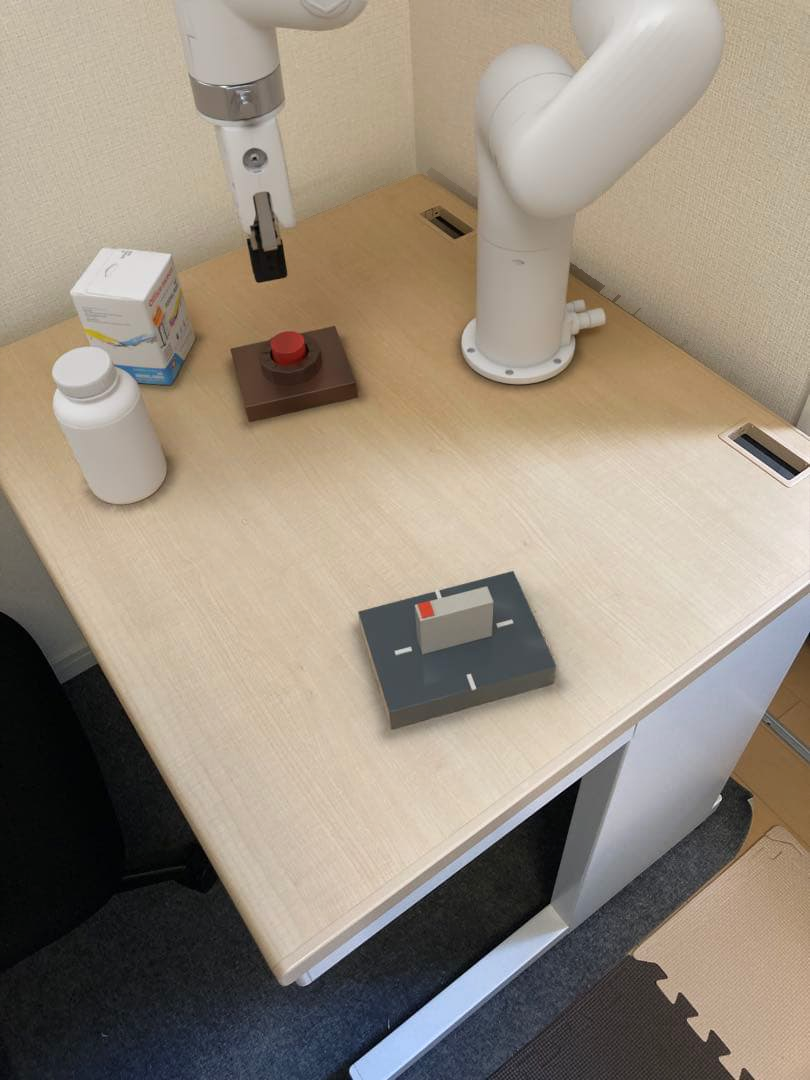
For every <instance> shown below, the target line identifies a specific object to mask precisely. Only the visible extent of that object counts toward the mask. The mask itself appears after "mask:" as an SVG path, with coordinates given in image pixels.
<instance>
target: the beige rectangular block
mask: <svg viewBox="0 0 810 1080" xmlns="http://www.w3.org/2000/svg"><path fill="white" fill-rule="evenodd" d="M415 616H416V630H417V640H418V643H419V646H420V649H421V652H422V654H426V653H430V652H433V651H437V650H441V649H445V648H448V647H452V646H456V645H460V644H463V643H467V642H471V641H475V640H478V639H482V638H486V637H490V636H492V622H493V599H492V597H491V594H490V592H489V590H488V587H487V586H486V587H482V588H479V589H475V590H471V591H467V592H463V593H459V594H455V595H451V596H448V597H444V598H440V599H436V600H432V601H427V602H424V603H420V604H417V605H415Z"/></svg>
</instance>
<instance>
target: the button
mask: <svg viewBox="0 0 810 1080" xmlns="http://www.w3.org/2000/svg"><path fill="white" fill-rule="evenodd" d="M299 333H300V332H297V331H293V330H292V331H291V330H289V331H282V332H280V333H277V334H276V335H274V336H275V337H274V336H272V337H273V339H272V340H271V349H272V354H273V358H274V360H275V361H276V362H277V363H278V364H282V365H291V364H296V363H299V362H300V361H302V360H303V359H305V357H306V347H305V341H304V337H303V336H302V335H301V334H299Z"/></svg>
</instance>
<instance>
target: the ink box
mask: <svg viewBox="0 0 810 1080" xmlns="http://www.w3.org/2000/svg"><path fill="white" fill-rule="evenodd" d="M173 258H174V257H173V254H171V253H165V252H156V251H149V250H138V249H128V248H114V247H102V248H101V249H100V250H99V251H98V253H97V255H96V256H94V259H93V260H92V262H91V263H90V264H89V266H88V267H86V269H85V271H84V272H83V273H82V275H81V276H80V277H79V279H78V280H77V281H76V283H75V284H74V286H73V287H72V288H71V289H70V291H69V293H70V297H71V300H72V302H73V305H74V308H75V310H76V314H77V316H78V318H79V321H80V323H81V325H82V329H83V331H84V334H85V336H86V339H87V342H88V344H89V347H97V348H100V349H103V350H104V351H106V352H107V353H108V354H109V355H110V356H111V358H112V361H113V363H114V366H115V367H118V368H120V369H122V370H124V371H126V372H127V373H129V374H130V375H131V376H132V377H133V378H134V379H135V381H136V382H137V384H146V385H147V384H148V385H158V386H159V385H160V386H172V385H173V383H174V382H175V380H176V378H177V376H178V373H179V372H180V370H181V368H182V366H183V364H184V362H185V360H186V358H187V356H188V354H189V352H190V351H191V349H192V347H193V345H194V343H195V341H196V335H195V332H194V327H193V324H192V321H191V318H190V313H189V311H188V307H187V304H186V301H185V297H184V293H183V291H182V290H183V289H182V286H181V283H180V279H179V276H178V272H177V269H176V265H175V262H174V259H173Z"/></svg>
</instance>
